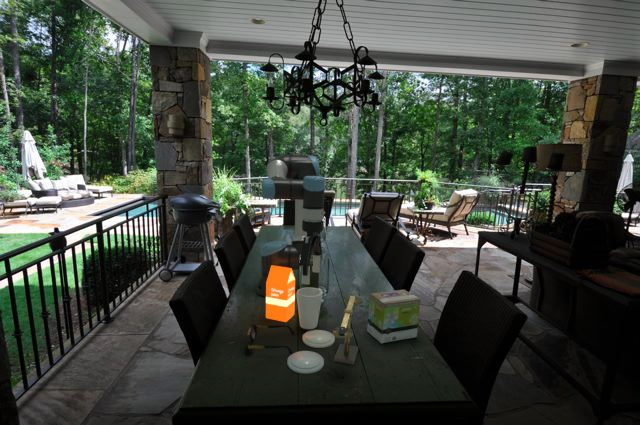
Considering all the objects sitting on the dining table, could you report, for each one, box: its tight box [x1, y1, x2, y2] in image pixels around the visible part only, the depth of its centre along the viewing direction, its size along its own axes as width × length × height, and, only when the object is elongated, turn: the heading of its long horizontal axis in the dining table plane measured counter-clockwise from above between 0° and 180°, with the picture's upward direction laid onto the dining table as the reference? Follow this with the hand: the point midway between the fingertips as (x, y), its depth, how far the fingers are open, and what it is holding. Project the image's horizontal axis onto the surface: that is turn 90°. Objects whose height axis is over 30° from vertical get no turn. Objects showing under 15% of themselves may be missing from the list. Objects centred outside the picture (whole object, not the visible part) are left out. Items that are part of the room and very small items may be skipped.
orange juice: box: [265, 265, 296, 323], centre depth 139 cm, size 8×9×20 cm
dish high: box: [302, 329, 336, 349], centre depth 124 cm, size 11×11×1 cm
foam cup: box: [295, 286, 324, 330], centre depth 133 cm, size 10×9×13 cm
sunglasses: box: [246, 323, 295, 356], centre depth 119 cm, size 14×15×5 cm
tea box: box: [366, 289, 421, 344], centre depth 128 cm, size 15×10×15 cm
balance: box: [332, 295, 363, 365], centre depth 113 cm, size 22×6×17 cm, turn 165°
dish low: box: [286, 350, 325, 375], centre depth 109 cm, size 11×11×1 cm
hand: (310, 277), depth 131 cm, fingers open, 13 cm apart
